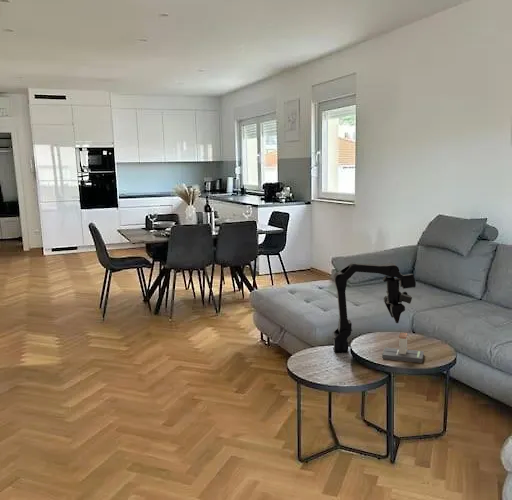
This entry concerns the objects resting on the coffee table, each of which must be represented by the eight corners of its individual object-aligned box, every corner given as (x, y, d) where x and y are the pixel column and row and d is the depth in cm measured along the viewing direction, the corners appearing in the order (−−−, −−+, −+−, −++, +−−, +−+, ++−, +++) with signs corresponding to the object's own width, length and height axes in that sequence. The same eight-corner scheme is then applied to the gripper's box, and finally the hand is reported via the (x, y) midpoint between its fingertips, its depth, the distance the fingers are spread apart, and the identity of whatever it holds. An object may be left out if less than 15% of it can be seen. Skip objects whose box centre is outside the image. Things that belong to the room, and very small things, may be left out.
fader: (398, 353, 234) (399, 336, 232) (400, 350, 238) (400, 332, 237) (405, 354, 232) (406, 336, 231) (407, 350, 237) (407, 333, 236)
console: (382, 358, 235) (382, 354, 234) (385, 351, 244) (385, 347, 243) (422, 362, 228) (422, 358, 227) (423, 355, 237) (423, 350, 237)
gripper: (415, 292, 231) (416, 324, 234) (405, 283, 250) (406, 313, 252) (391, 294, 232) (393, 326, 234) (382, 285, 250) (384, 315, 253)
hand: (394, 320), depth 243 cm, fingers open, 9 cm apart
